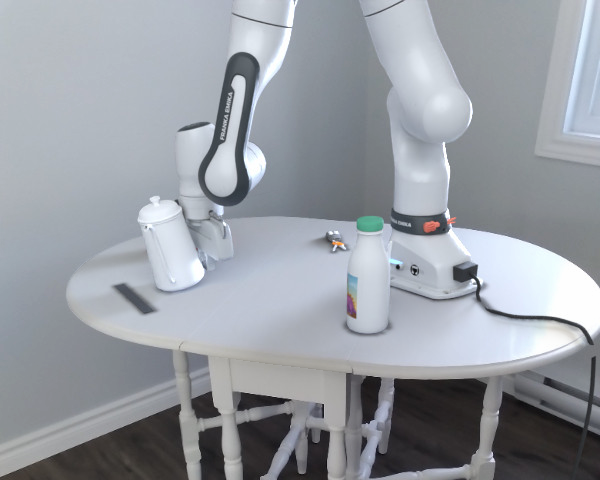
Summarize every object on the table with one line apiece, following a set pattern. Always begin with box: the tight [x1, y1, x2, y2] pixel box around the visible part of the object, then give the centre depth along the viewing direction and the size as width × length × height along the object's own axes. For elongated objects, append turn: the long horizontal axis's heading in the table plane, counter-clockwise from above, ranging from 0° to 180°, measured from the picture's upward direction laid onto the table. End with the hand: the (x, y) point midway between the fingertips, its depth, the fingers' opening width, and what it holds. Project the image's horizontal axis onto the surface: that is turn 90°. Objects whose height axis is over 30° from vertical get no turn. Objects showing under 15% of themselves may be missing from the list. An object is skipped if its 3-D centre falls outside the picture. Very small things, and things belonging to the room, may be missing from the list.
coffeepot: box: [136, 195, 205, 292], centre depth 133 cm, size 11×25×19 cm, turn 179°
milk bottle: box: [346, 215, 391, 335], centre depth 114 cm, size 8×8×20 cm
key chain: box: [325, 230, 347, 252], centre depth 160 cm, size 13×4×2 cm, turn 7°
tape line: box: [114, 283, 155, 314], centre depth 134 cm, size 18×2×1 cm, turn 33°
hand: (208, 269), depth 141 cm, fingers closed
